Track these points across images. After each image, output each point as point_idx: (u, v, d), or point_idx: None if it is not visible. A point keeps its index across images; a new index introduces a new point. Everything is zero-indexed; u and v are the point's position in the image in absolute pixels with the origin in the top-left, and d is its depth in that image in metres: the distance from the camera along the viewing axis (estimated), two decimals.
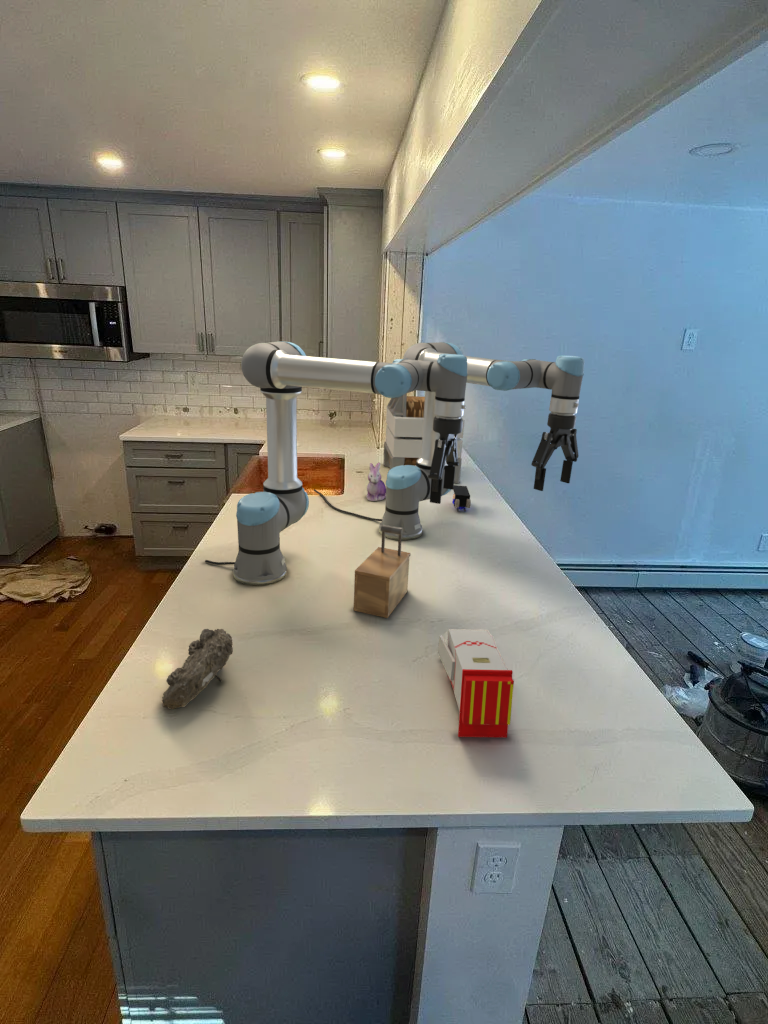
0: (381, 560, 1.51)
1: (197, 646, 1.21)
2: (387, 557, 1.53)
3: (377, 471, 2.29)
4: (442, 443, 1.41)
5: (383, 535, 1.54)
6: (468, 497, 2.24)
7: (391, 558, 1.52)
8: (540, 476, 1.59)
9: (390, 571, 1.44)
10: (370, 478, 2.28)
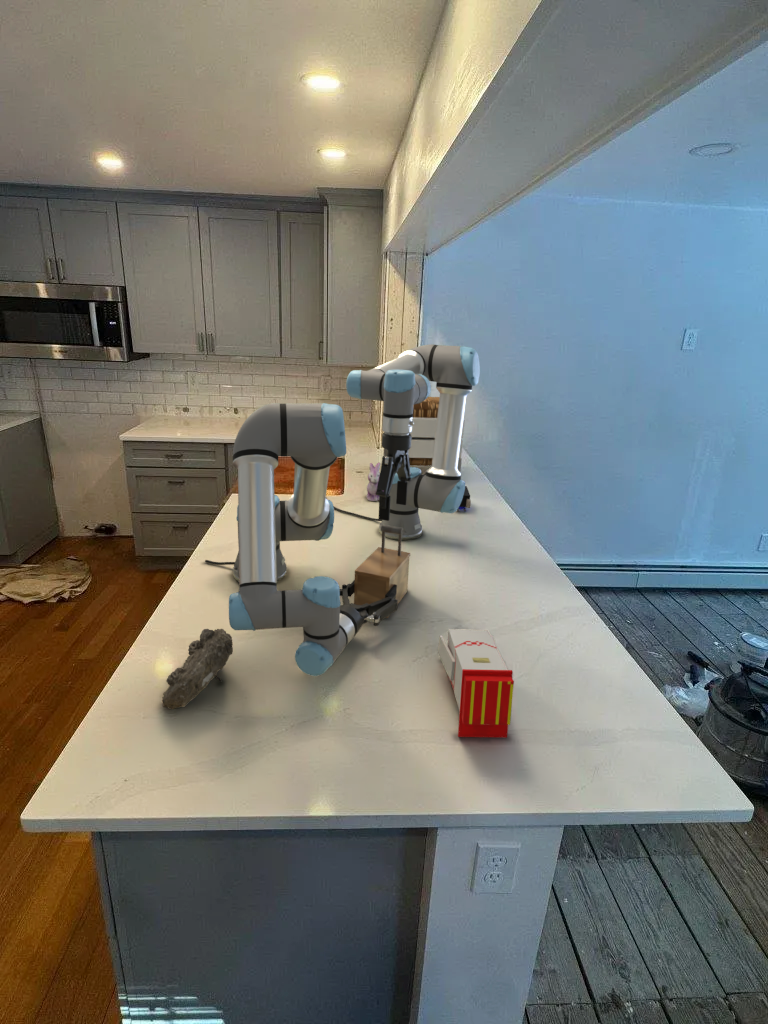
0: (381, 560, 1.51)
1: (197, 646, 1.21)
2: (387, 557, 1.53)
3: (377, 471, 2.29)
4: None
5: (383, 535, 1.54)
6: (468, 497, 2.24)
7: (391, 558, 1.52)
8: (386, 505, 1.42)
9: (390, 571, 1.44)
10: (370, 478, 2.28)
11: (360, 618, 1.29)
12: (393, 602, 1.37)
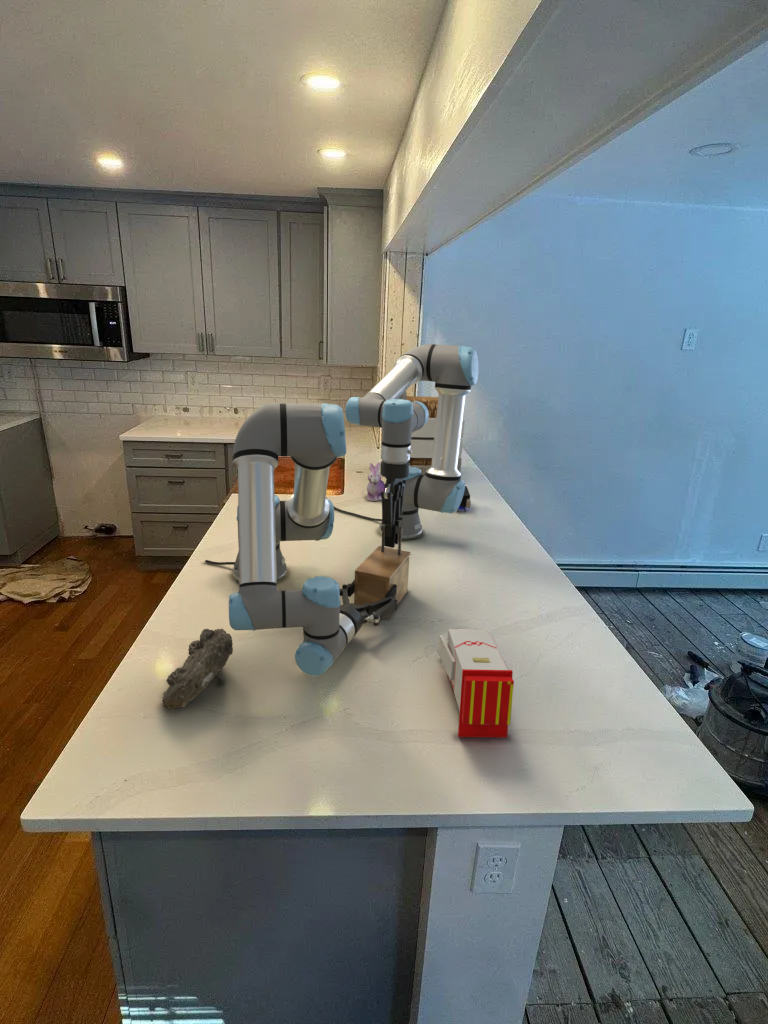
0: (381, 559, 1.51)
1: (197, 646, 1.21)
2: (387, 556, 1.53)
3: (377, 471, 2.29)
4: None
5: (383, 534, 1.54)
6: (468, 497, 2.24)
7: (391, 557, 1.52)
8: (391, 533, 1.50)
9: (390, 571, 1.44)
10: (370, 478, 2.28)
11: (360, 618, 1.29)
12: (393, 602, 1.37)
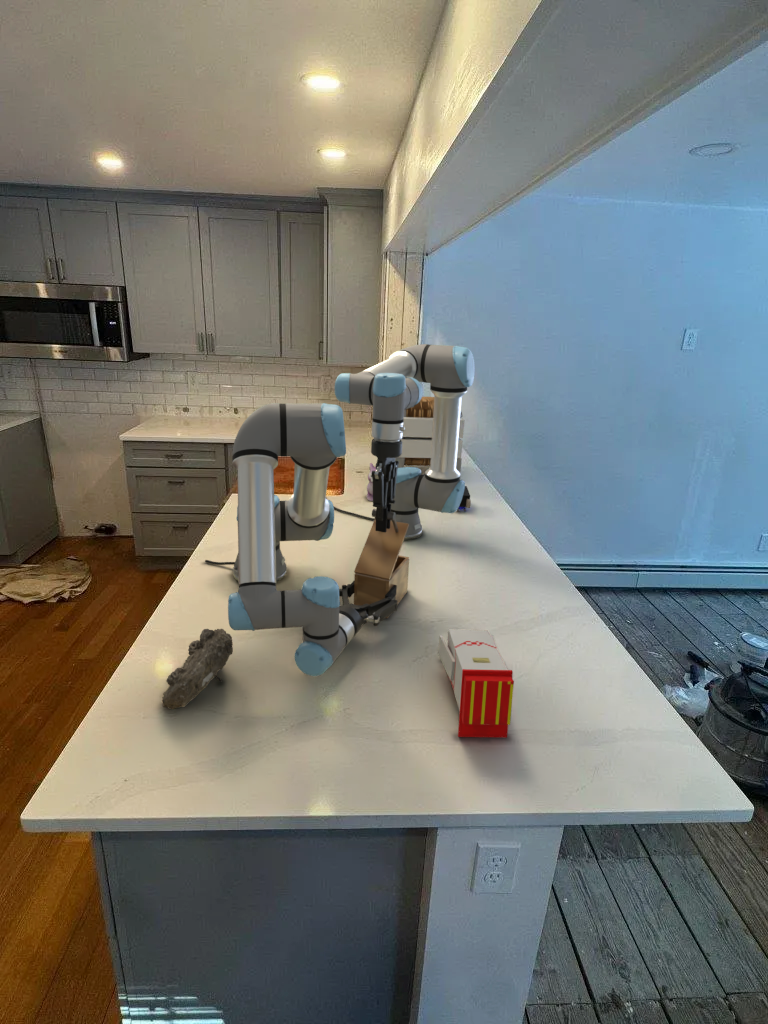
0: (379, 546, 1.47)
1: (197, 646, 1.21)
2: (385, 538, 1.48)
3: None
4: None
5: None
6: (468, 497, 2.24)
7: (389, 539, 1.48)
8: (383, 517, 1.42)
9: (389, 567, 1.43)
10: (370, 478, 2.28)
11: (360, 618, 1.29)
12: (393, 602, 1.37)
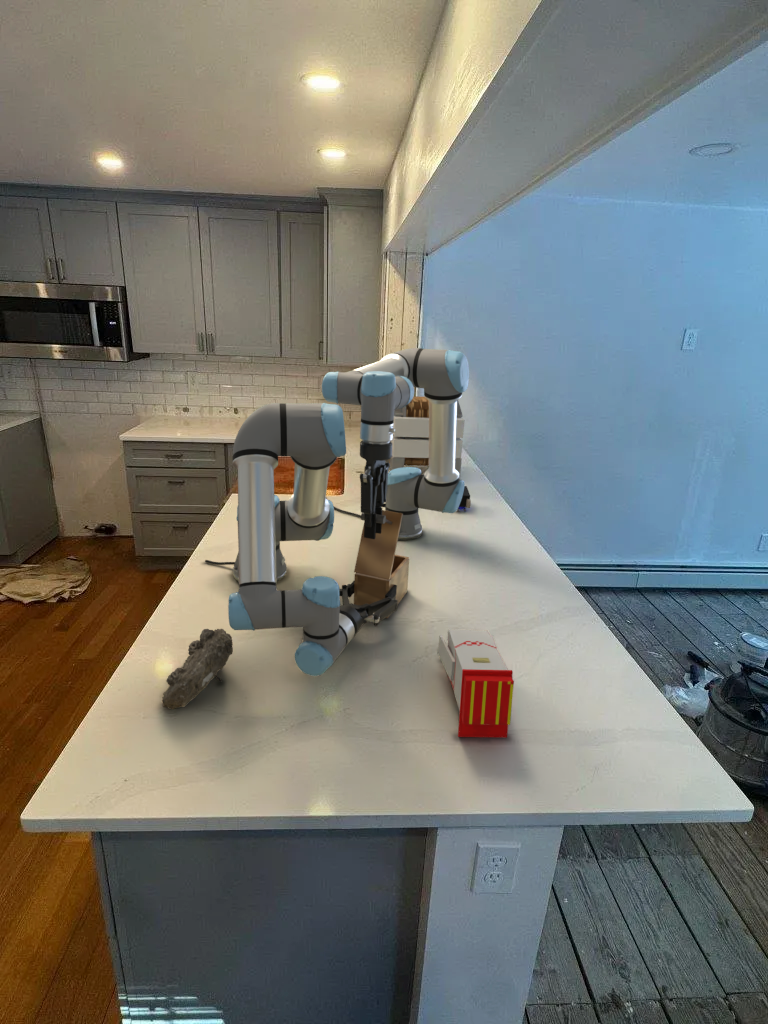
0: (375, 541, 1.43)
1: (197, 646, 1.21)
2: None
3: None
4: None
5: None
6: (468, 497, 2.24)
7: (384, 533, 1.43)
8: (371, 523, 1.34)
9: (387, 566, 1.42)
10: None
11: (360, 618, 1.29)
12: (393, 602, 1.37)
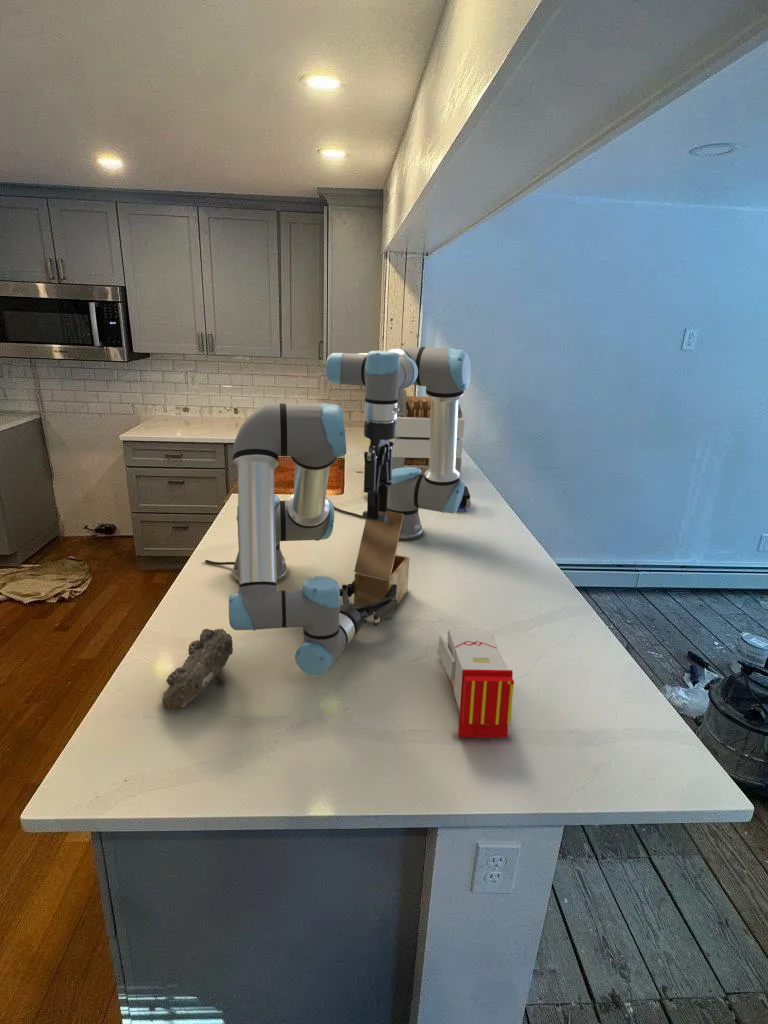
0: (376, 541, 1.44)
1: (197, 646, 1.21)
2: (381, 532, 1.44)
3: None
4: None
5: None
6: (468, 497, 2.24)
7: (385, 533, 1.44)
8: (374, 503, 1.34)
9: (388, 565, 1.42)
10: None
11: (360, 618, 1.29)
12: (393, 602, 1.37)
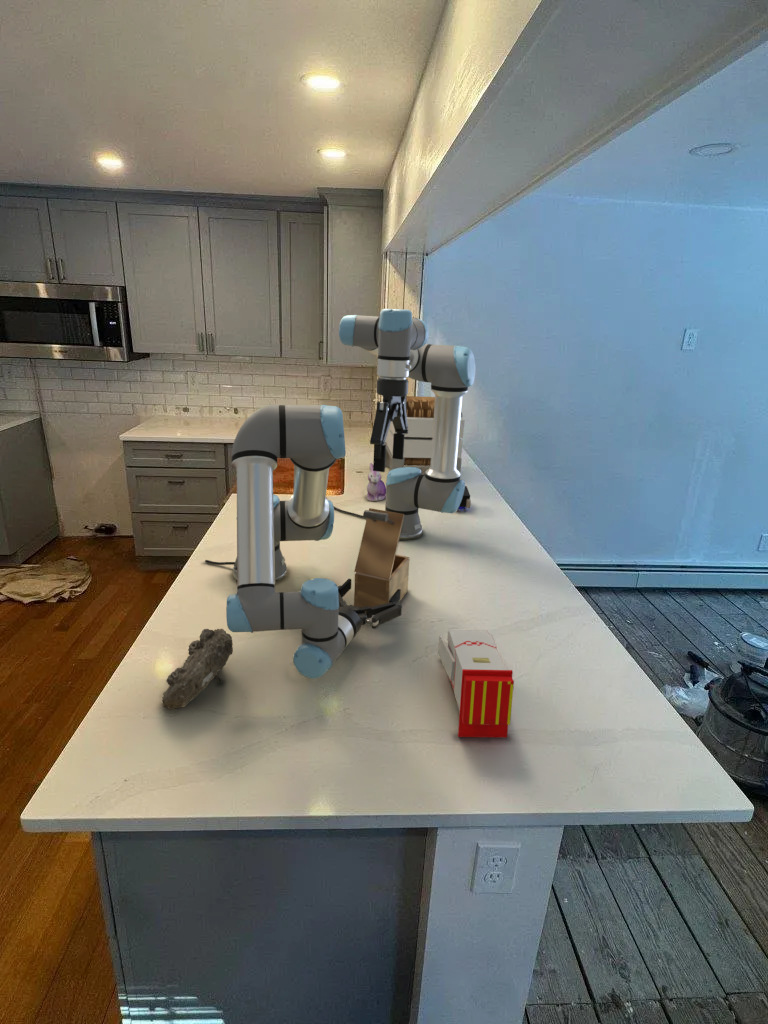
0: (376, 541, 1.44)
1: (197, 646, 1.21)
2: (381, 532, 1.44)
3: (377, 471, 2.29)
4: None
5: None
6: (468, 497, 2.24)
7: (386, 533, 1.44)
8: (381, 455, 1.33)
9: (388, 565, 1.42)
10: (370, 478, 2.28)
11: (359, 620, 1.28)
12: (396, 607, 1.35)
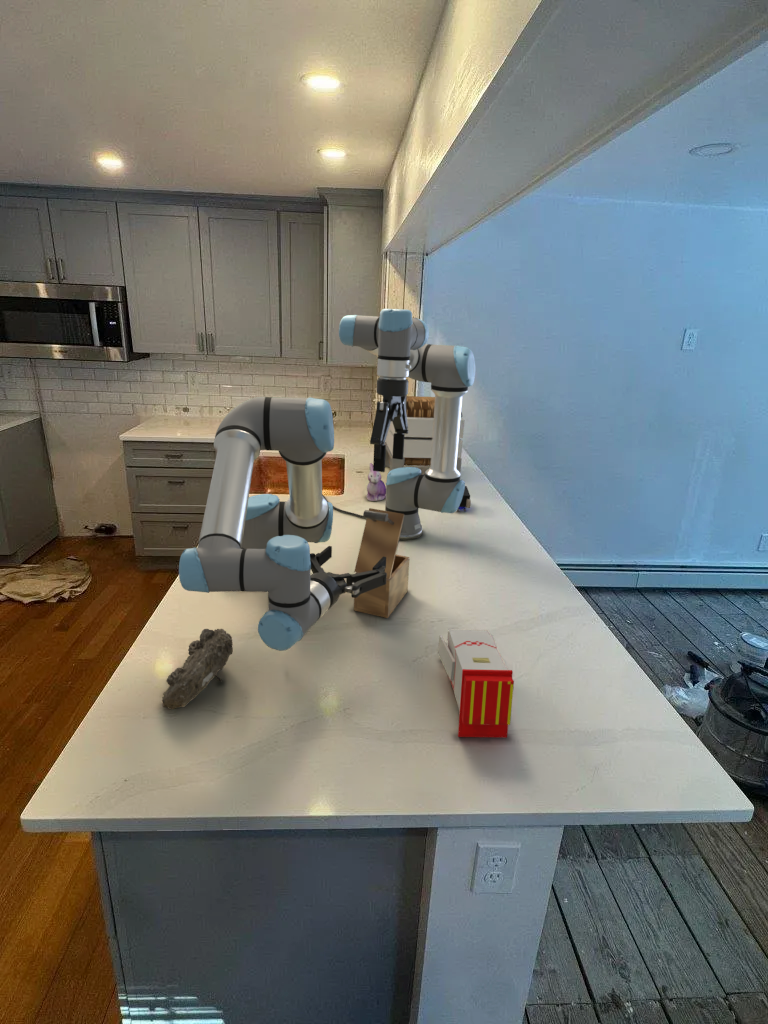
0: (376, 541, 1.44)
1: (197, 646, 1.21)
2: (381, 532, 1.44)
3: (377, 471, 2.29)
4: None
5: None
6: (468, 497, 2.24)
7: (386, 533, 1.44)
8: (381, 455, 1.33)
9: (388, 565, 1.42)
10: (370, 478, 2.28)
11: (337, 587, 1.13)
12: (380, 575, 1.19)
